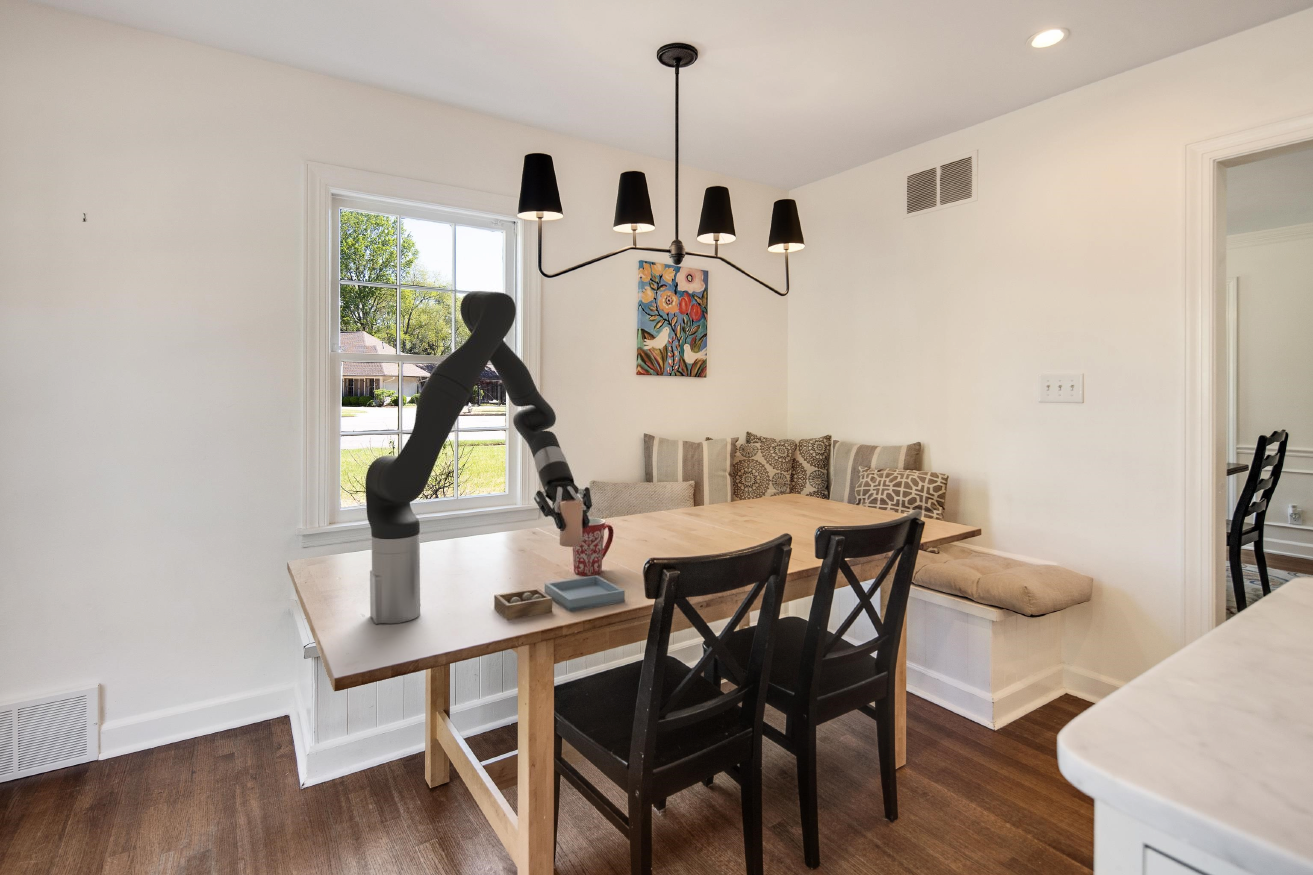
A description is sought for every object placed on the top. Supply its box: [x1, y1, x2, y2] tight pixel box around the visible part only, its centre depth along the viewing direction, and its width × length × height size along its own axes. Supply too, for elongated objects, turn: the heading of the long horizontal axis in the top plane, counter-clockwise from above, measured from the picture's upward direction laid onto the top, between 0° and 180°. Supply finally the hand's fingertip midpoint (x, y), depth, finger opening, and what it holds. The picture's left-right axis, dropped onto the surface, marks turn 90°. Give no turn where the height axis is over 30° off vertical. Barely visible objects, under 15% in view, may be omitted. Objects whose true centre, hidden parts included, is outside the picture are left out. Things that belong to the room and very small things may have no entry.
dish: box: [544, 574, 626, 612], centre depth 149 cm, size 14×14×3 cm
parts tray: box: [493, 587, 553, 621], centre depth 140 cm, size 10×8×3 cm
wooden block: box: [559, 499, 583, 548], centre depth 150 cm, size 5×5×10 cm
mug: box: [572, 517, 615, 576], centre depth 171 cm, size 13×9×14 cm
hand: (574, 527), depth 149 cm, fingers closed on wooden block, 5 cm apart
